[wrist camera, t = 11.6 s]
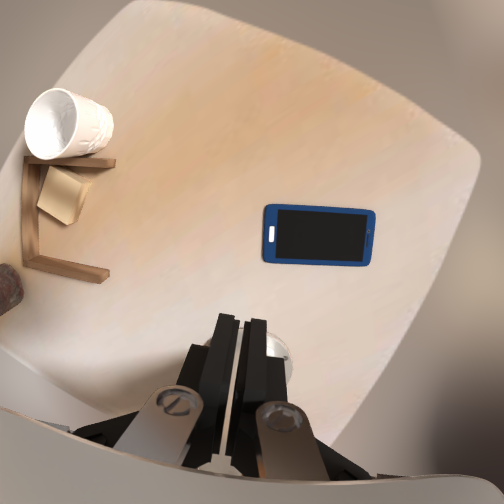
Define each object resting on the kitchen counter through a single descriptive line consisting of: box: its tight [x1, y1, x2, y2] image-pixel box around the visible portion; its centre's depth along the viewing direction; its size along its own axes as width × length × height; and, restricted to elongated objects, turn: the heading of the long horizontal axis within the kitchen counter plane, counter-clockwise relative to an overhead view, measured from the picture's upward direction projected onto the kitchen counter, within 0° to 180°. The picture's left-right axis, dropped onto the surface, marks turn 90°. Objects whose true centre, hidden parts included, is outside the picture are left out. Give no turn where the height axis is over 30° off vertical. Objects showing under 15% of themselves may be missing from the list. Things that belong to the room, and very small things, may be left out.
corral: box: [22, 156, 116, 284], centre depth 39 cm, size 16×14×3 cm
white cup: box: [24, 88, 114, 160], centre depth 32 cm, size 8×8×10 cm
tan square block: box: [37, 165, 92, 225], centre depth 38 cm, size 6×6×3 cm
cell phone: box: [263, 204, 376, 267], centre depth 40 cm, size 7×14×1 cm, turn 88°
